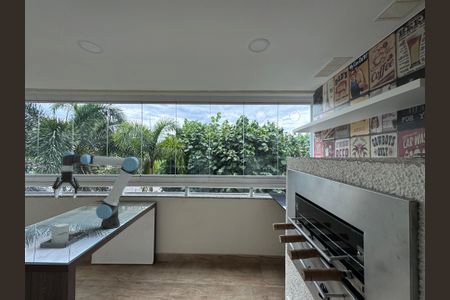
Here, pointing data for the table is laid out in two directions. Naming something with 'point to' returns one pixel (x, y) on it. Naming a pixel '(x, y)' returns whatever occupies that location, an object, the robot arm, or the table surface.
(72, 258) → the table surface
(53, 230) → the supplement box
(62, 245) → the grey flat rectangular frame
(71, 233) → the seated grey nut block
